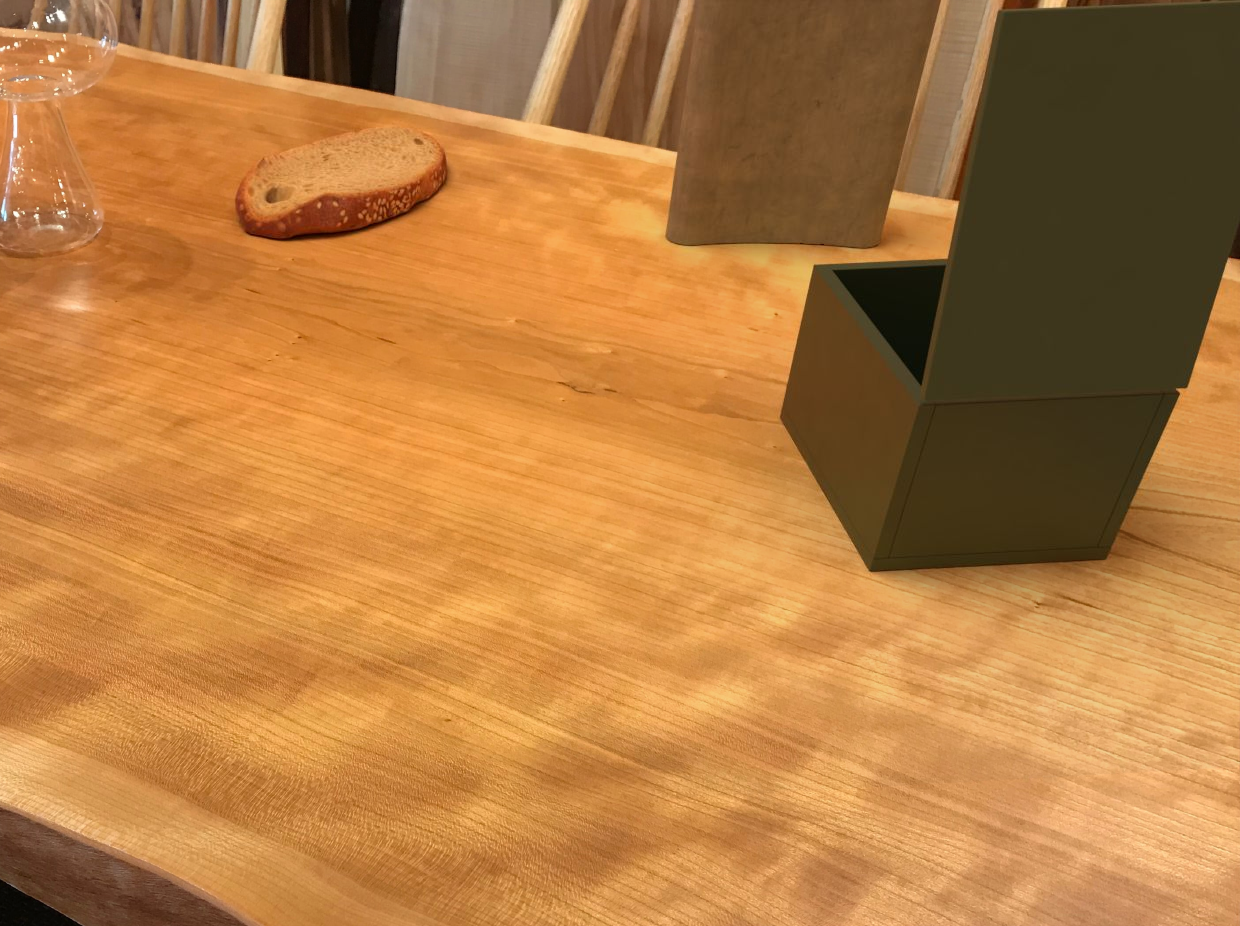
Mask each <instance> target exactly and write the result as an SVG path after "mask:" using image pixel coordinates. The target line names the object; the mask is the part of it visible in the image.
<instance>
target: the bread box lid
mask: <svg viewBox="0 0 1240 926" xmlns="http://www.w3.org/2000/svg"><path fill="white" fill-rule="evenodd" d="M995 18H996V19H995V23H994V28H993V34H992V38H991V43H990V47H989V53H988V57H987V62H986V67H985V72H984V77H983V82H982V87H981V92H980V96H979V100H978V101H979V102H978V107H977V111H976V115H975V121H974V125H973V130H972V136H971V141H970V144H969V145H970V146H969V149H968V150H969V151H968V156H967V159H966V160H967V162H966V165H965V171H964V174H963V180H962V186H961V190H960V195H959V200H958V205H957V210H956V215H955V220H954V224H953V230H952V235H951V239H950V244H949V250H948V253H947V258H946V259H947V263H946V268H945V273H944V278H943V283H942V288H941V293H940V298H939V303H938V308H937V313H936V317H935V322H934V327H933V332H932V337H931V342H930V347H929V352H928V357H927V362H926V367H925V372H924V376H923V381H922V386H921V391H920V398H922V399H923V400H924V401H929V400H950V399H971V398H992V397H1013V396H1034V395H1055V394H1076V393H1097V392H1118V391H1139V390H1160V389H1176V390H1180V389H1188V388H1189V384H1190V382H1191V378H1192V375H1193V373H1194V368H1195V365H1196V363H1197V359H1198V355H1199V352H1200V350H1201V346H1202V343H1203V340H1204V338H1205V337H1204V336H1205V333H1206V331H1207V327H1208V324H1209V321H1210V318H1211V314H1212V311H1213V308H1214V305H1215V304H1214V303H1215V301H1216V298H1217V295H1218V292H1219V288H1220V285H1221V284H1222V283H1221V282H1222V280H1223V276H1224V273H1225V271H1226V267H1227V263H1228V260H1229V257H1230V254H1231V250H1232V247H1233V244H1234V242H1235V241H1234V240H1235V238H1236V235H1237V231H1238V228H1239V225H1240V0H1213V1H1212V0H1211V1H1187V2H1159V3H1158V2H1157V3H1156V2H1155V3H1135V4H1134V3H1133V4H1132V3H1131V4H1110V5H1108V4H1107V5H1084V6H1059V7H1058V6H1057V7H1056V6H1055V7H1035V8H1034V7H1033V8H1032V7H1031V8H1009V9H1006V8H1005V9H1004V8H1003V9H998V10H997V13H996V17H995Z"/></svg>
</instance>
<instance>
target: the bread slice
mask: <svg viewBox="0 0 1240 926" xmlns="http://www.w3.org/2000/svg"><path fill="white" fill-rule="evenodd" d="M447 166H448V165H447V156H446V152H445V149H444V147H443V146H442V145H441V143H440V142H439V141H438V140H437V139H435V138H434V137H433V136H432V135H431V134H428V133H427V132H423V131H422V130H419V129H417V128H415V127H414V126H413V127H412V126H406V125H401V124H396V123H392V124H386V125H385V124H384V125H379V126H374V127H372V126H371V127H365V128H361V129H360V130H353V131H350V130H349V131H348V132H345V133H339V134H335V135H332V136H329V137H324V138H322V139H317V140H314V141H313V142H311V143H305V144H303V145H301V146H298V147H293V148H290V149H287V150H286V151H282V152H279V153H276V154H270V155H267V156H263V157H261V158H260V159H259V160H257V162H256V163H255V164H254V165H253V166H252V167H251V168H250V169H249V170H247V173H246V174H245V176H243V179H242V180H241V182H240V184H239V186H238V188H237V190H236V193H235V196H234V208H235V212H236V214H237V216H238V218H239V221H240V222H241V226H242V228H243V230H244V231H246V232H247V233H248V234H251V235H258V236H263V237H268V238H273V239H290V238H292V237H295V236H300V235H311V234H327V233H328V234H330V233H331V234H332V233H340V232H347V231H352V230H353V231H354V230H359V229H361V228H364V227H367V226H369V225H372V224H375V223H381V222H383V221H386V220H388V219H391V218H394V217H396V216H398V215H400V214H404V213H407V212H409V211H410V210H411V208H412V207H413V206H415V205H416V204H418V203H420V202H422V201H425V200H428V199H429V198H430V197H432V196H433V195H434V194H435V193H436V192H437V191H438V190H439V188H440V187H441V185H442V184H443V183H444V181H445V179H446V178H447V172H448V171H447V170H448V167H447Z"/></svg>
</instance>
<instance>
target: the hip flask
mask: <svg viewBox="0 0 1240 926" xmlns="http://www.w3.org/2000/svg"><path fill="white" fill-rule="evenodd" d="M941 2H942V0H698V3H697V10H696V17H695V23H694V33H693V37H692V45H691V52H690V53H691V54H690V60H689V66H688V73H687V79H686V86H685V87H686V88H685V94H684V95H685V96H684V101H683V110H682V114H681V115H682V116H681V124H680V130H679V138H678V145H677V152H676V158H675V164H674V165H675V166H674V172H673V178H672V179H673V180H672V186H671V194H670V203H669V207H668V208H669V209H668V213H667V215H668V216H667V223H666V230H665V238H666V239H667V240H668V241H670V243H675V244H677V245H682V246H699V245H700V246H701V245H714V244H716V245H717V244H748V243H749V244H751V243H752V244H758V243H760V244H762V243H763V244H800V243H803V245H820V244H824V245H823V246H835V247H836V246H837V247H846V248H858V249H867V248H868V247H869V248H874V247H876V246H877V244H878V245H879V244H880V243H881V238H882V235H883V230H884V226H885V223H886V219H887V215H888V211H889V208H890V204H891V199H892V195H893V192H894V187H895V183H896V179H897V176H898V171H899V168H900V164H901V161H902V160H901V159H902V156H903V152H904V148H905V144H906V140H907V137H908V132H909V128H910V124H911V120H912V116H913V112H914V110H915V109H914V108H915V104H916V101H917V98H918V97H917V96H918V92H919V89H920V84H921V81H922V77H923V73H924V70H925V66H926V61H927V57H928V53H929V49H930V45H931V42H932V38H933V34H934V29H935V25H936V21H937V19H938V14H939V10H940V6H941Z"/></svg>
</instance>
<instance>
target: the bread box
mask: <svg viewBox="0 0 1240 926" xmlns="http://www.w3.org/2000/svg"><path fill="white" fill-rule="evenodd" d="M946 263H947V258H935V259H934V258H932V259H931V258H930V259H929V258H928V259H912V260H911V259H909V260H889V261H888V260H887V261H865V262H844V263H843V262H842V263H840V262H839V263H822V264H821V263H820V264H813V266H812V271H811V275H810V280H809V284H808V289H807V294H806V297H805V302H804V307H803V311H802V315H801V321H800V324H799V329H798V332H797V333H798V334H797V338H796V342H795V347H794V352H793V357H792V361H791V366H790V370H789V373H788V379H787V383H786V388H785V392H784V397H783V401H782V406H781V411H780V415H779V418H780V420H781V422H782V424H783V425H784V428H785V429H786V430H787V432H788V434H789V435H790V437H791V438H792V440H793V442H794V443H795V445H796V448H797V449H798V450H799V453H800V454H801V456H802V457H803V459H804V461H805V463H806V465H807V466H808V468H809V469H810V471H811V473H812V475H813V476H814V479H815V480H816V481H817V483H818V485H819V487H820V488H821V490H822V493H823V494H824V495H825V498H826V499H827V500H828V502H829V505H830V506H831V507H832V509H833V511H834V513H835V514H836V516H837V518H838V519H839V521H840V522H841V524H842V526H843V528H844V529H845V532H846V533H847V535H848V536H849V538H850V540H851V541H852V543H853V545H854V547H855V549H856V550H857V552H858V554H859V555H860V557H861V559H862V560H863V562H864V564H865V566H866V567H867V569H868V571H869V572H876V571H878V572H879V571H896V570H898V571H899V570H917V569H918V570H919V569H936V568H939V569H940V568H955V567H957V568H958V567H972V566H973V567H975V566H993V565H994V566H996V565H1014V564H1015V565H1016V564H1035V563H1036V564H1037V563H1054V562H1055V563H1056V562H1070V561H1073V562H1074V561H1075V562H1076V561H1091V560H1092V561H1095V560H1106V559H1108V556H1109V555H1110V552H1111V551H1112V550H1111V549H1112V547H1113V545H1114V543H1115V541H1116V539H1117V537H1118V534H1119V532H1120V531H1121V528H1122V525H1123V523H1124V521H1125V519H1126V517H1127V514H1128V512H1129V509H1130V507H1131V505H1132V503H1133V501H1134V498H1135V496H1136V494H1137V492H1138V490H1139V487H1140V485H1141V482H1142V480H1143V479H1144V476H1145V474H1146V471H1147V469H1148V467H1149V465H1150V463H1151V460H1152V458H1153V456H1154V454H1155V452H1156V449H1157V447H1158V445H1159V443H1160V441H1161V438H1162V436H1163V433H1164V432H1165V429H1166V426H1167V425H1168V422H1169V420H1170V418H1171V415H1172V414H1173V411H1174V410H1175V407H1176V405H1177V402H1178V400H1179V398H1180V396H1181V392H1180V391H1179V389H1160V390H1139V391H1118V392H1097V393H1076V394H1055V395H1034V396H1013V397H992V398H971V399H950V400H929V401H924V400H923V399H922V398H920V391H921V386H922V381H923V376H924V372H925V367H926V362H927V357H928V352H929V347H930V342H931V337H932V332H933V327H934V322H935V317H936V313H937V308H938V303H939V298H940V293H941V288H942V283H943V278H944V273H945V268H946Z"/></svg>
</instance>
